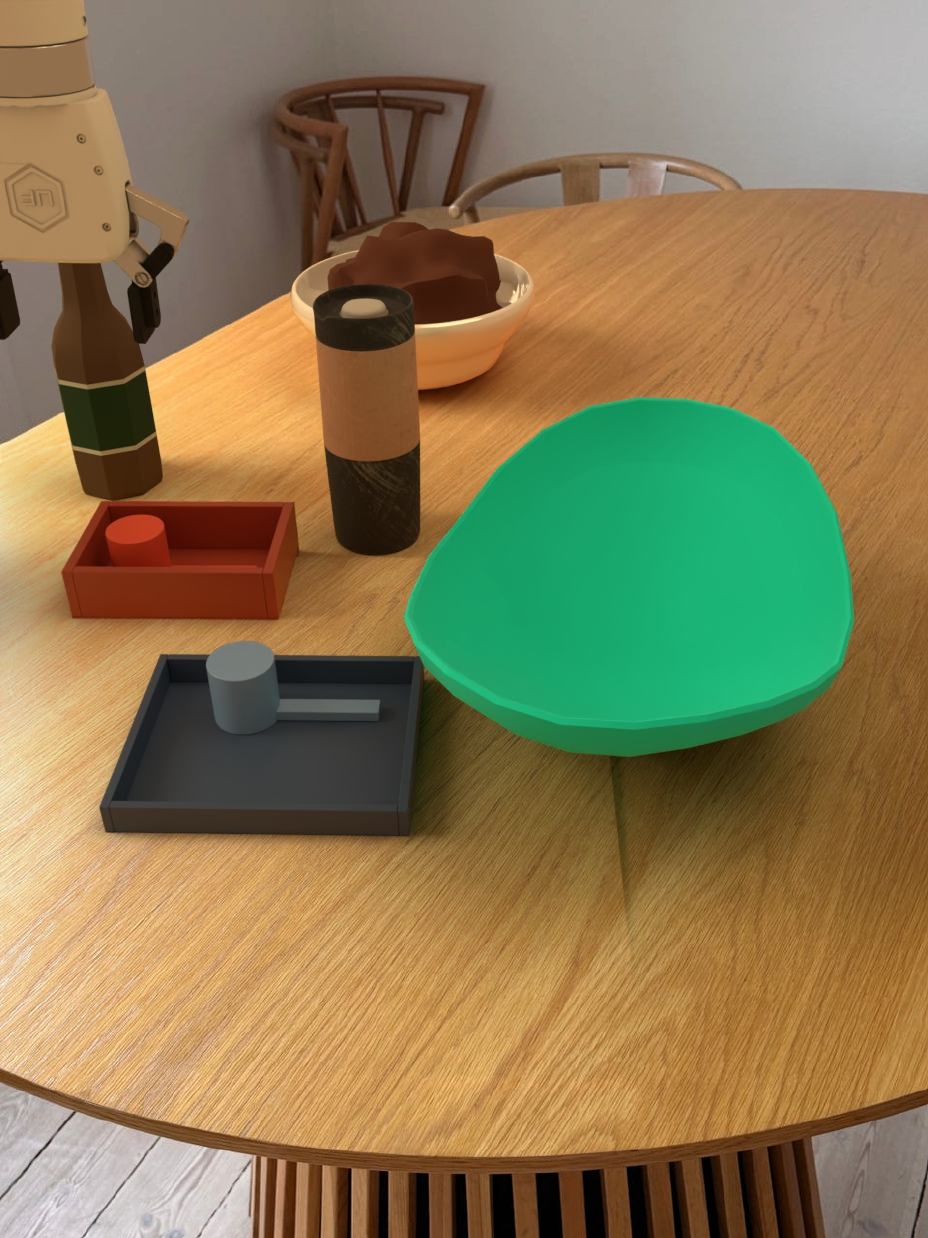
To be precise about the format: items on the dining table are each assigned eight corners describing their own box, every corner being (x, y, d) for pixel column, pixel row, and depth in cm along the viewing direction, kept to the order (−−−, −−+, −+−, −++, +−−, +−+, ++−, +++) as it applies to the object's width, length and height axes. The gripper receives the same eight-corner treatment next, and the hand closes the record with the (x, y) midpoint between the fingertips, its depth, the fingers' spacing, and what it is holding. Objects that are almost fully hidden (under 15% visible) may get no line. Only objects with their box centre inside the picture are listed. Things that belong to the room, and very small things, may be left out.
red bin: (72, 622, 91) (60, 571, 89) (111, 548, 100) (101, 500, 97) (279, 623, 91) (272, 573, 88) (299, 549, 99) (294, 501, 97)
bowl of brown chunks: (327, 436, 116) (314, 282, 108) (277, 342, 136) (263, 205, 127) (569, 399, 123) (575, 250, 114) (488, 314, 142) (488, 182, 134)
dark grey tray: (105, 836, 73) (98, 807, 71) (165, 681, 85) (160, 653, 84) (409, 840, 72) (407, 811, 71) (424, 683, 84) (423, 655, 83)
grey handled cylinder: (208, 734, 80) (199, 680, 77) (221, 693, 83) (213, 639, 81) (377, 736, 79) (373, 682, 77) (383, 694, 83) (379, 641, 80)
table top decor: (508, 524, 102) (509, 377, 95) (848, 573, 95) (878, 419, 88) (324, 852, 71) (304, 672, 64) (808, 962, 64) (849, 774, 57)
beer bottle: (174, 460, 113) (130, 196, 99) (154, 501, 106) (104, 225, 93) (90, 460, 113) (35, 197, 99) (66, 501, 106) (3, 226, 93)
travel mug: (435, 516, 103) (428, 287, 92) (406, 563, 97) (395, 323, 86) (351, 505, 105) (334, 278, 94) (317, 549, 99) (295, 313, 88)
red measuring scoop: (109, 593, 93) (98, 543, 91) (123, 563, 97) (113, 514, 94) (252, 594, 93) (245, 543, 91) (261, 563, 97) (255, 514, 94)
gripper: (-135, 78, 72) (-67, 352, 82) (154, 85, 72) (188, 359, 81) (-83, 55, 78) (-26, 312, 88) (183, 61, 78) (211, 318, 87)
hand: (77, 334), depth 85 cm, fingers open, 9 cm apart
